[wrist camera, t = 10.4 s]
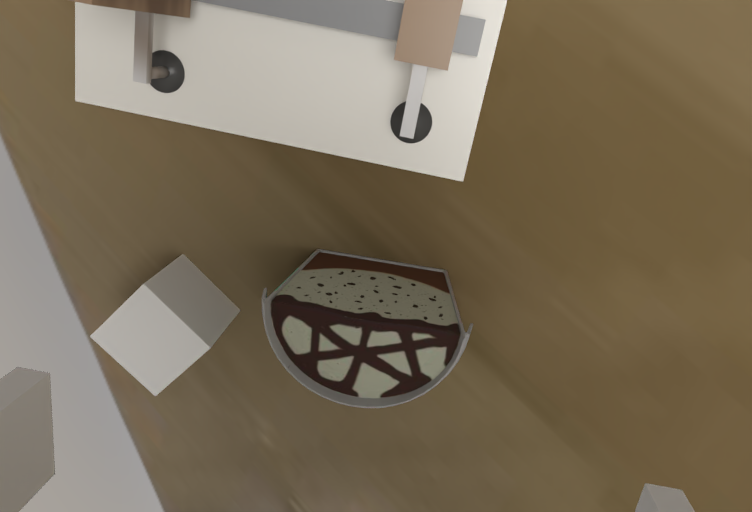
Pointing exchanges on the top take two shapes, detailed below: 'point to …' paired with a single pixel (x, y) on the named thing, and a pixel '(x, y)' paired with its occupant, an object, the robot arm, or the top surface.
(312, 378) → the food container
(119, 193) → the top surface
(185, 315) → the white cube
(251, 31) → the board
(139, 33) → the sliding handle
